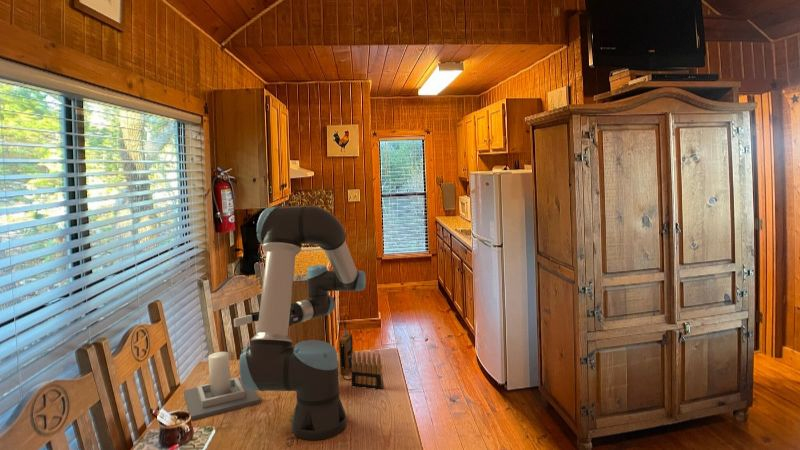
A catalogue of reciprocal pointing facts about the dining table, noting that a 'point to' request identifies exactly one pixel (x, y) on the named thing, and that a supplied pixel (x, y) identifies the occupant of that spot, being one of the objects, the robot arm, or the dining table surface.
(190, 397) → the socket block
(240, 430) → the dining table surface
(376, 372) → the ammunition clip
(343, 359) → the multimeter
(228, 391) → the plug
